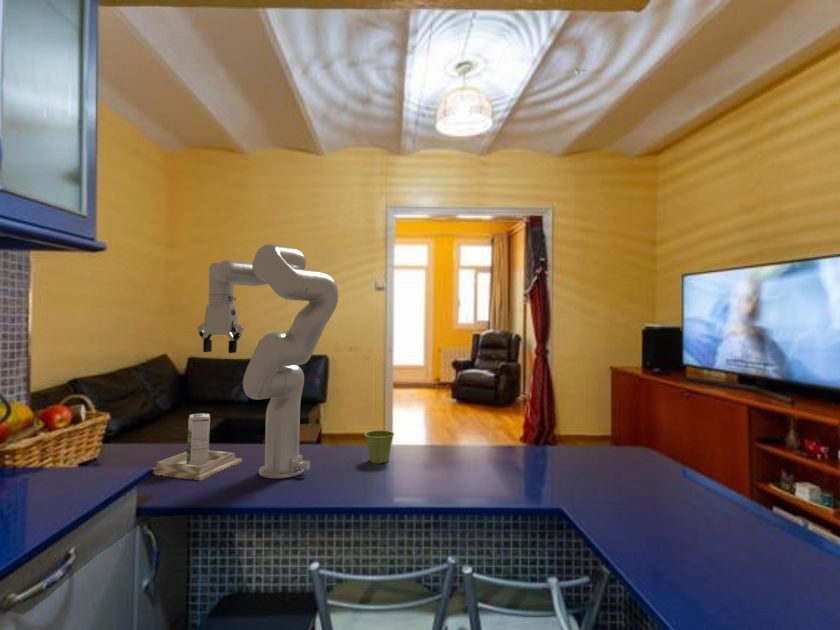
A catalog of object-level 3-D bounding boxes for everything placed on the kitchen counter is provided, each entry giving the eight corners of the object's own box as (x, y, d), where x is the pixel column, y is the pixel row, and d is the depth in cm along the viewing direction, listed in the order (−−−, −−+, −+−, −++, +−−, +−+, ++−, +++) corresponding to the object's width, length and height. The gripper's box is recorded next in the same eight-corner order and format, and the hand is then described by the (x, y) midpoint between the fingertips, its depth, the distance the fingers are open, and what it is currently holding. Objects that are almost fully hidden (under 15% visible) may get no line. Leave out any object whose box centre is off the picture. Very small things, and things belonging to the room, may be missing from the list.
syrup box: (187, 462, 139) (188, 414, 139) (208, 460, 142) (209, 412, 142) (186, 468, 134) (187, 417, 134) (208, 465, 136) (210, 416, 137)
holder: (242, 461, 144) (242, 452, 144) (200, 480, 127) (200, 469, 127) (193, 456, 149) (193, 447, 149) (147, 473, 131) (147, 463, 131)
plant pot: (359, 463, 144) (359, 435, 144) (371, 455, 153) (371, 429, 153) (387, 466, 141) (387, 438, 141) (397, 458, 150) (398, 431, 150)
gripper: (250, 301, 155) (249, 352, 154) (206, 301, 159) (205, 351, 159) (236, 300, 147) (235, 353, 147) (190, 299, 152) (189, 352, 152)
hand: (219, 352), depth 153 cm, fingers open, 9 cm apart
